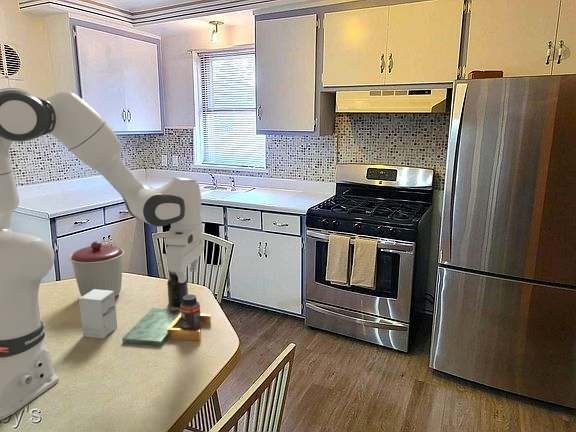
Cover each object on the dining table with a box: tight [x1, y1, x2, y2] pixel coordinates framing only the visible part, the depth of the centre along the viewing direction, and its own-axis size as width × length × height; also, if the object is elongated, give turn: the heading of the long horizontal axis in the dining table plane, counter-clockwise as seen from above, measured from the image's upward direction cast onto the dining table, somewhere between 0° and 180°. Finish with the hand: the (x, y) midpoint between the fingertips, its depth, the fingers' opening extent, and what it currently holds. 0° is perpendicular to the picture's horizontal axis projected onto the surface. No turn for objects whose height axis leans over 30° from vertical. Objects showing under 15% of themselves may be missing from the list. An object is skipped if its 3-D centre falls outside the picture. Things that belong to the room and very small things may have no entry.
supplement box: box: [78, 289, 118, 340], centre depth 129 cm, size 7×7×13 cm
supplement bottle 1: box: [167, 271, 189, 308], centre depth 149 cm, size 7×7×12 cm
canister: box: [68, 240, 125, 298], centre depth 153 cm, size 18×18×21 cm
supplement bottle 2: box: [179, 293, 202, 331], centre depth 131 cm, size 6×6×11 cm
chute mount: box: [121, 307, 212, 347], centre depth 132 cm, size 20×22×3 cm
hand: (188, 276), depth 127 cm, fingers open, 8 cm apart
